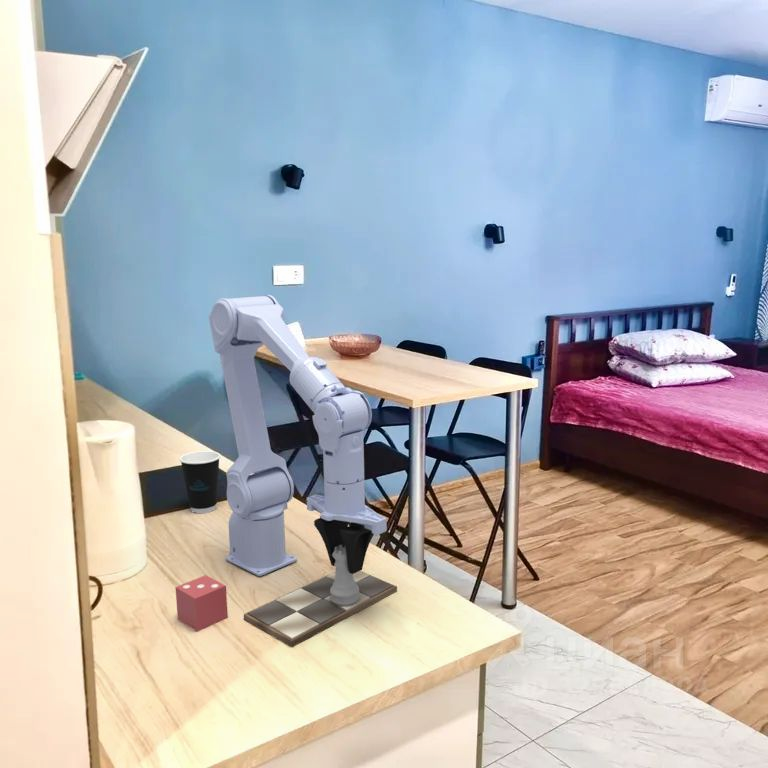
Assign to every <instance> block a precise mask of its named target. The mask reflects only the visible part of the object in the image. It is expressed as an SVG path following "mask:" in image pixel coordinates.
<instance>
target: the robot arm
mask: <svg viewBox="0 0 768 768" xmlns="http://www.w3.org/2000/svg"><path fill="white" fill-rule="evenodd" d="M284 311H285V309H284V307H282V305H280V303H279V302H278V300H277V298H275V297H274V296H273V295H270V294H263V295H261V296H246V297H234V298H233V297H232V298H225V297H224V298H223V297H220V298H219V299H216V300H215V302H214V304H213V306H212V308H211V311H210V314H208V315H209V316H208V319H209V326H210V330H211V331H210V332H211V336H212V341H213V346H214V351H215V353H217V354H219V358H220V363H221V368H222V369H221V370H222V374H223V380H224V384H225V391H226V395H227V401H228V406H229V412H230V416H231V423H232V427H233V433H234V438H235V442H236V447H237V453H238V457H237V459H236V460H235V461H234V462H233V464H232V465H231V466H230V467H229V468H227V471H226V473H225V474H226V483H227V487H226V499H227V503H228V506H229V508H230V510H231V511H232V512H231V515H230V517H229V520H228V539H229V555H228V556H225V560H226V561H228V562H229V563H231V564H234V565H235V566H238V567H240V568H241V569H243V570H246V571H248V572H250V573H251V574H254V575H256V576H258V577H262V576H264V575H266V574H269V573H271V572H273V571H276V570H279V569H281V568H284V567H285V566H288V565H290V564H292V563H295V562H297V561H298V558H297V557H296V556H294V555H292V554H289V553H287V552H286V551H287V550H286V533H285V529H286V528H285V510H287V509H288V503H290V502H291V500H292V499H293V496H294V493H295V484H294V480H293V477H292V476H291V474H290V472H289V469H288V467H287V462H286V459H285V458H284V457H282V456H280V455H278V454H277V453H274V452H273V451H272V449H271V448H272V447H271V444H270V437H269V433H268V427H267V422H266V417H265V410H264V406H263V401H262V396H261V395H262V394H261V389H260V386H259V385H260V384H259V379H258V374H257V370H256V364H255V355H256V354H257V352H258V350H259V349H260V348H262V347H263V346H265V347H266V348H267V349H268V350H269V351H270V352H271V354H273V355H274V356H275V357H276V359H277V360H278V361H280V362H281V363H282V364H283V366H285V368H287V370H288V371H290V374H289V383H290V385H291V386H292V387H293V389H294V390H295V391H296V393H297V394H298V395H299V396H300V397H301V399H302V401H304V402H305V404H306V405H307V406H308V408H309V409H310V410H311V412H313V414H314V415H312V423H313V426H314V429H315V430H316V432H317V435H318V444H319V446H320V449H321V450H322V455H323V456H322V459H323V464H322V465H323V493H324V494H323V495H324V496H323V495H320V494H317V493H316V494H313V495H311V496H308V497H306V510H308V511H310V512H314V511H316V512H319V513H320V516H319V518H316V519H314V521H313V525H314V527H315V528H316V530H317V532H318V533H319V534H320V536H321V538H322V541H323V543H324V546H325V549H326V552H327V555H328V558H329V562H330V565H331V566H333V567H335V566H334V563H335V562H336V561H335V559H334V557H333V556H332V554H333V552H334V551H335V547H336V546H337V547H338V548H339V545H342V548H344V547H345V548H346V554H347V566H348V570H349V573H351V574H354V573H356V572H358V571H363V566H364V562H365V559H366V555H367V551H368V548H369V545H370V543H371V541H372V539H373V537H374V535H376V536H378V535H380V534H381V535H382V534H384V533H385V532H387V530H388V529H387V528H388V527H387V525H388V524H387V517H386V516H385V517H384V516H383V515H381V514H378V513H377V512H376V511H374V510H373V509H372V508H370V507H369V506H368V505H366V502H365V501H366V498H365V491H366V490H365V457H364V456H365V454H364V453H365V452H364V451H365V449H364V431H365V430H367V429H368V428H369V427H370V425H371V423H372V418H373V411H372V406H371V405H370V404H371V403H370V402H369V400H368V399H367V398H366V396H365V394H364V392H363V393H362V392H361V391H359V390H352V389H351V388H350V387H345V386H344V385H345V384H343V383H342V382H341V381H340V379H339V378H338V377H337V376H336V375H335V374H334V373H333V371H332V370H331V369H330V368H329V366H328V365H327V363H326V361H325V360H324V359H322V358H320V357H317V356H309V355H308V353H307V352H306V351H305V349H304V348H303V346H302V345H301V344H300V342H299V341H298V339H297V338H296V337H295V335H294V334H293V332H292V331H291V330H290V328H289V327H288V326H287V324H286V323H285V312H284ZM349 523H350V526H349Z"/></svg>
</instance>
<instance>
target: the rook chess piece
mask: <svg viewBox="0 0 768 768" xmlns="http://www.w3.org/2000/svg"><path fill="white" fill-rule="evenodd" d="M332 556H333V557H334V559H335V561H336V562H335V563H334V566H333V567H335V572H336V573H335V580H334V582H333V586H332V587H331V589H330V593H331V595H330V599H331V601H332V602H333V603H334V604H336V605H340V606H348V605H352V604H354V603H356V602H357V601H358V599H359V598H360V594H359V587H358V586H357V584H356V582H355V580H354V577H353V574H351V573H349V570H348V566H347V554H346V548H345V547H344V548H342V545H339V548H338V547H337V546H336V547H335V551H334V552H333V554H332Z"/></svg>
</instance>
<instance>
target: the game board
mask: <svg viewBox="0 0 768 768" xmlns="http://www.w3.org/2000/svg"><path fill="white" fill-rule="evenodd" d="M335 573H336V571H334V572H332V573H329V574H328V575H326V576H324V577H321V578H319V579H317V580H314V581H313V582H310V583H309V584H306V585H305V586H302V587H300V588H297V589H295V590H293V591H291V592H288V593H286V594H285V595H283V596H280V597H278V598H275V599H274V600H271V601H269V602H267V603H265V604H262V605H261V606H258V607H256V608H254V609H252V610H250V611H248V612H246V613H243V620H244V621H246V622H247V623H249V624H251V625H252V626H255V627H257V628H258V629H260V630H262V631H263V632H265V633H267V634H269V635H270V636H272V637H273V638H275V639H277V640H278V641H280V642H282V643H284V644H286V645H287V646H288V647H290V648H294V647H295V646H297V645H299V644H301V643H303V642H304V641H306V640H309V639H310V638H312V637H314V636H316V635H317V634H319V633H321V632H323V631H325V630H327V629H328V628H331V627H333V626H334V625H336V624H338V623H340V622H342V621H344V620H346V619H348V618H350V617H351V616H353V615H355V614H358V613H359V612H360V611H363V610H364V609H366V608H368V607H370V606H372V605H373V604H376V603H377V602H379V601H381V600H383V599H385V598H387V597H389V596H391V595H392V594H394V593H397V592H398V586H397V585H395V584H392V583H391V582H387V581H385V580H382V579H380V578H378V577H375V576H373V575H371V574H369V573H366V572H365V571H363V570H360V571H358V572H356V573H354V574H353V577H354V580H355V582H356V584H357V586H358V587H359V594H360V598H359V599H358V601H357V602H356V603H354V604H352V605H348V606H340V605H336V604H334V603H333V602H332V601H331V599H330V595H331V593H330V589H331V587H332V586H333V582H334V580H335Z"/></svg>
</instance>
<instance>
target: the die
mask: <svg viewBox="0 0 768 768" xmlns="http://www.w3.org/2000/svg"><path fill="white" fill-rule="evenodd" d="M174 588H175V599H176V600H175V601H176V612H177V613H176V615H177V620H179V621H180V622H182V623H183V624H184V625H186V626H188V627H189V628H191V629H192V630H195V631H196V632H200V631H202V630H204V629H207V628H208V627H211V626H212V625H215V624H217V623H219V622H221V621H224V620H225V619H227V618H228V617H229V614H228V598H227V597H228V596H227V585H225V584H224V583H221V582H220V581H218V580H216V579H214V578H212V577H211V576H208V575H207V574H204V575H202V576H200V577H197V578H195V579H192V580H190V581H187V582H185V583H183V584H179V585H178V586H175V587H174Z"/></svg>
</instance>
